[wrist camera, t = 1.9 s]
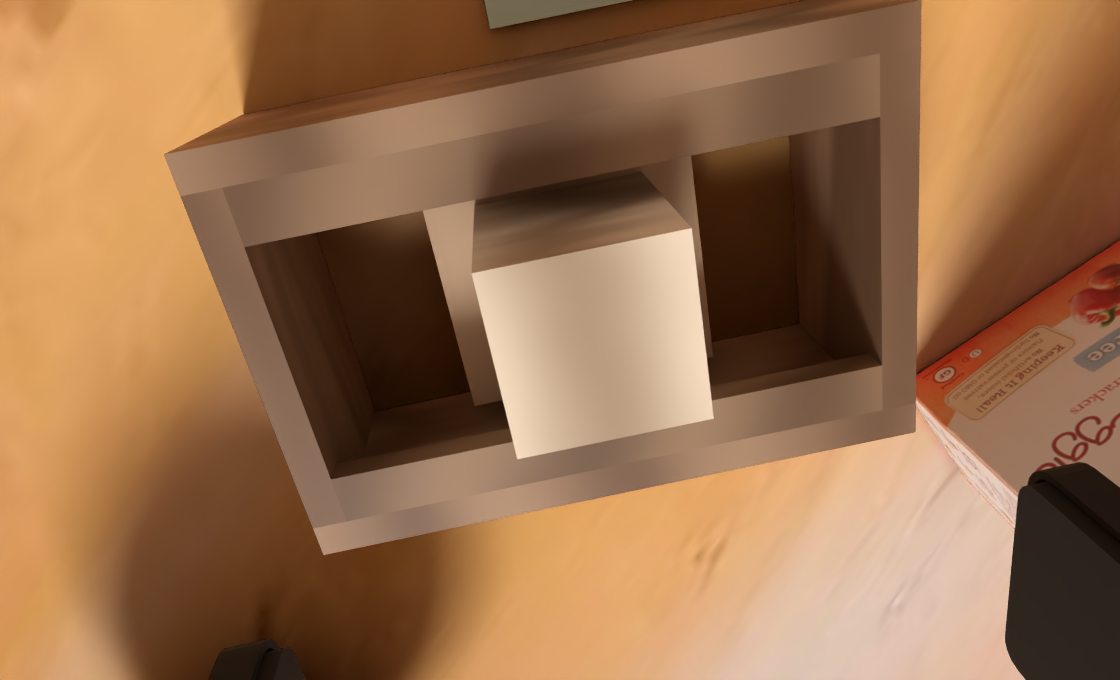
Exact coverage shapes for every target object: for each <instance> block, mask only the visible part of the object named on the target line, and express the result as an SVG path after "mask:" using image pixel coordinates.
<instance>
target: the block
mask: <svg viewBox="0 0 1120 680" xmlns="http://www.w3.org/2000/svg"><path fill="white" fill-rule="evenodd" d="M472 277H473V282H474V286H475V290H476V294H477V298H478V302H479V306H480V310H481V314H482V318H483V322H484V326H485V330H486V334H487V338H488V342H489V346H490V350H491V354H492V358H493V363H494V367H495V371H496V375H497V379H498V383H499V387H500V391H501V395H502V399H503V403H504V407H505V411H506V415H507V419H508V423H509V427H510V431H511V435H512V439H513V444H514V448H515V452H516V456H517V459H522V458H526V457H531V456H536V455H541V454H546V453H551V452H555V451H560V450H565V449H570V448H575V447H579V446H584V445H589V444H594V443H599V442H604V441H608V440H613V439H618V438H623V437H628V436H633V435H637V434H642V433H647V432H652V431H657V430H661V429H666V428H671V427H676V426H681V425H686V424H690V423H695V422H700V421H705V420H710V419H714V417H713V408H712V399H711V391H710V382H709V373H708V365H707V356H706V347H705V339H704V330H703V321H702V313H701V304H700V295H699V287H698V278H697V269H696V261H695V252H694V243H693V235H692V228H691V227H690V226H689V224H688V223H687V222H686V221H685V220H684V219H683V218H682V217H681V215H680V214H679V213H678V212H677V211H676V210H675V209H674V208H673V206H672V205H671V204H670V203H669V202H668V201H667V200H666V199H665V197H664V196H663V195H662V194H661V193H660V192H659V191H658V190H657V188H656V187H655V186H654V185H653V184H652V183H651V182H650V181H649V179H648V178H647V177H646V176H645V175H644V174H643V173H642V172H637V173H632V174H627V175H623V176H618V177H613V178H608V179H603V180H598V181H593V182H588V183H583V184H579V185H574V186H569V187H564V188H559V189H554V190H549V191H544V192H540V193H535V194H530V195H525V196H520V197H515V198H510V199H505V200H501V201H496V202H491V203H486V204H481V205H476V206H474V225H473V249H472Z"/></svg>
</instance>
